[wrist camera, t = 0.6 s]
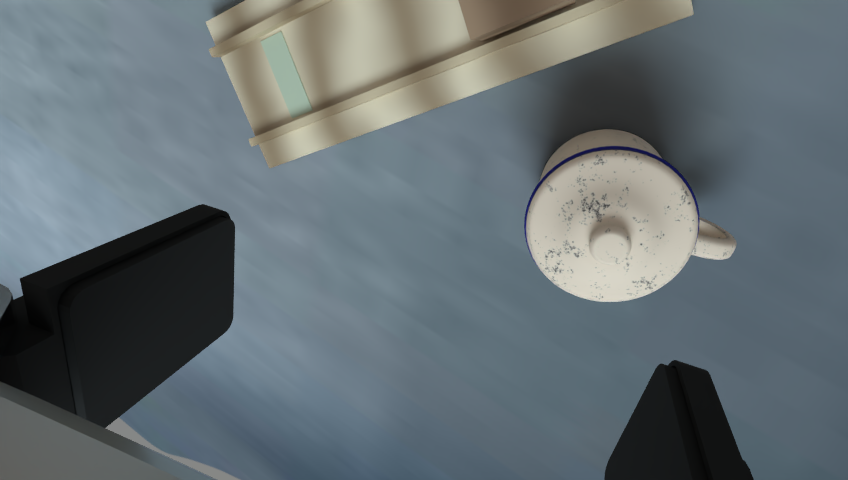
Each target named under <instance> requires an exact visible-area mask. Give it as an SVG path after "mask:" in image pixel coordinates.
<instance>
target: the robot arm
mask: <svg viewBox="0 0 848 480" xmlns="http://www.w3.org/2000/svg"><path fill="white" fill-rule="evenodd" d="M234 250H235V224H234V222H233V221H232V220H231V219H230V216H229V214H228V213H227V212H226V211H223V210H219V209H216V208H213V207H210V206H207V205H204V204H202V205H198V206H195V207H193V208H190V209H188V210H186V211H183V212H181V213H178V214H176V215H173V216H171V217H169V218H166V219H164V220H161V221H159V222H156V223H154V224H152V225H149V226H147V227H144V228H142V229H139V230H137V231H134V232H132V233H130V234H127V235H125V236H122V237H120V238H117V239H115V240H113V241H110V242H108V243H105V244H103V245H100V246H98V247H96V248H93V249H91V250H88V251H86V252H83V253H81V254H79V255H76V256H74V257H71V258H69V259H66V260H64V261H61V262H59V263H57V264H54V265H52V266H49V267H47V268H44V269H42V270H40V271H37V272H35V273H32V274H30V275H27V276H25V277H23V278H20V282H21V286H22V291H23V296H21V297H19V298H17V299H15V300H13V297H12V293H11V292H10V290H9V288H7V287H5V286H3V285H1V284H0V480H216V479H214V478H212V477H210V476H208V475H206V474H203V473H201V472H199V471H197V470H195V469H193V468H191V467H188V466H186V465H184V464H182V463H180V462H177V461H175V460H173V459H171V458H169V457H167V456H165V455H162V454H160V453H158V452H156V451H154V450H151V449H149V448H147V447H145V446H143V445H140V444H138V443H136V442H134V441H132V440H130V439H127V438H125V437H123V436H121V435H119V434H116V433H114V432H112V431H110V430H108V429H105V428H106V427H107V426H108V425H109V424H111V423H112V422H113V421H114V420H116V419H117V418H118V417H120V416H121V415H122V414H123V413H125V412H126V411H127V410H128V409H130V408H131V407H132V406H133V405H135V404H136V403H137V402H138V401H140V400H141V399H142V398H143V397H145V396H146V395H147V394H148V393H150V392H151V391H152V390H153V389H155V388H156V387H157V386H158V385H160V384H161V383H162V382H164V381H165V380H166V379H167V378H169V377H170V376H171V375H172V374H174V373H175V372H176V371H177V370H179V369H180V368H181V367H182V366H184V365H185V364H186V363H187V362H189V361H190V360H191V359H192V358H194V357H195V356H196V355H197V354H199V353H200V352H201V351H202V350H204V349H205V348H206V347H208V346H209V345H210V344H211V343H213V342H214V341H215V340H216V339H218V338H219V337H220V336H221V335H223V334H224V333H225V332H226V331H227V330H228V329H229V327H230V325H231V323H232V320H233V300H234ZM605 480H754V479H753V477H752V474H751V472H750V469H749V467H748V466H747V464H746V462H745V461H744V460H743V459H742V457H741V455H740V452H739V450H738V447H737V444H736V442H735V439H734V436H733V434H732V431H731V429H730V426H729V423H728V421H727V418H726V416H725V413H724V410H723V408H722V405H721V402H720V400H719V397H718V395H717V392H716V389H715V387H714V384H713V381H712V379H711V376H710V374H709V372H708V371H706V370H704V369H701V368H698V367H695V366H692V365H689V364H686V363H683V362H680V361H676V360H674V361H672V362H671V363H670V364H669V365H668V366H667V365H664V364H659V365H658V366H657V368H656V369H655V371H654V373H653V375H652V377H651V379H650V381H649V383H648V385H647V387H646V389H645V391H644V393H643V395H642V396H641V398H640V400H639V402H638V404H637V406H636V408H635V410H634V412H633V414H632V416H631V418H630V420H629V422H628V424H627V426H626V428H625V429H624V431H623V433H622V435H621V437H620V439H619V441H618V443H617V445H616V447H615V449H614V451H613V453H612V455H611V457H610V459H609V461H608V463H607V467H606V471H605Z"/></svg>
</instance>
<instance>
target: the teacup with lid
mask: <svg viewBox="0 0 848 480" xmlns="http://www.w3.org/2000/svg"><path fill="white" fill-rule="evenodd" d="M524 228H525V237H526V242H527V246H528V249H529V251H530V254H531V256H532V258H533V260H534V261H535V263H536V264H537V266H538V267H539V269H540V270H541V271H542V272H543V273H544V275H545V276H546V277H547V278H548V279H549V280H551V281H552V282H553V283H554V284H556V285H557V286H558V287H560V288H561V289H563V290H565V291H567V292H569V293H571V294H573V295H575V296H578V297H581V298H585V299H588V300H594V301H601V302H619V301H626V300H631V299H636V298H639V297H642V296H645V295H647V294H649V293H652V292H654V291H656V290H657V289H659V288H661V287H662V286H664V285H665V284H667V283H668V282H669V281H670V280H672V279H673V278H674V277H675V276H676V275H677V274H678V273H679V272H680V270H681V269H682V268H683V267H684V265H685V264H686V263H687V261H688V259H689V257H690V256H691V255H695V256H699V257H703V258H707V259H715V260H721V259H727V258H729V257H730V256H731V255H732V254H733V252H734V250H735V248H736V240H735V239H734V237H733V236H732V235H731V234H730V233H728V232H727V231H726V230H724V229H723V228H721V227H719V226H718V225H716V224H714V223H712V222H710V221H708V220H705V219H703V218H701V217H699V210H698V205H697V201H696V198H695V196H694V193H693V191H692V189H691V187H690V186H689V184H688V182H687V181H686V180H685V178H684V177H683V176H682V175H681V174H680V173H679V172H678V170H677V169H675V168H674V167H673V166H672V165H671V164H669V163H668V162H666V161H665V160H663V159H662V157H661V156H660V155H659V154H658V152H657V151H656V150H655V149H654V148H653V147H652V146H651V145H650V144H649V143H648V142H646V141H645V140H643V139H642V138H640V137H638V136H636V135H634V134H631V133H628V132H625V131H620V130H613V129H601V130H594V131H589V132H586V133H583V134H580V135H578V136H576V137H574V138H572V139H570V140H569V141H567V142H566V143H564V144H563V145H562V146H561V147H559V148H558V149H557V150H556V151H555V153H554V154H553V155H552V156H551V157H550V159H549V160H548V162H547V164H546V166H545V168H544V170H543V172H542V175H541V178H540V182H539V183H538V185H537V186H536V188H535V189H534V191H533V193H532V195H531V197H530V200H529V202H528V205H527V209H526V214H525V225H524Z"/></svg>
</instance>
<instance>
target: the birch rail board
mask: <svg viewBox="0 0 848 480" xmlns="http://www.w3.org/2000/svg"><path fill="white" fill-rule="evenodd" d="M575 2H576V4H573V5H571V6H568V7H566V8H563V9H561V10H558V11H556V12H553V13H551V14H548V15H546V16H544V17H541V18H539V19H536V20H534V21H531V22H529V23H526V24H524V25H521V26H519V27H516V28H514V29H511V30H509V31H507V32H504V33H502V34H499V35H497V36H494V37H492V38H489V39H487V40H484V41H478V40H470V37H469V34H468V30H467V27H466V24H465V20H464V17H463V14H462V11H461V7H460V4H459V1H458V0H245V1H243V2H241V3H239V4H238V5H236V6H234V7H232V8H230V9H229V10H227V11H225V12H223V13H221V14H220V15H218V16H216V17H214V18H212V19H210V20H209V21H207V22H206V24H207V26H208V29H209V31H210V33H211V36H212V38H213V40H214V42H215V45H216V46H214V47H212V48H210V49H209V51H210V53H211V56H212V57H221V59H222V61H223V63H224V65H225V68H226V70H227V72H228V75H229V77H230V79H231V81H232V84H233V86H234V88H235V91H236V93H237V95H238V98H239V100H240V102H241V104H242V107H243V109H244V111H245V114H246V116H247V118H248V120H249V123H250V125H251V127H252V130H253V132H254V134H255V137H253V138H251V139H248V140H249V142H250V144H251V147H252V146H255V145H259V146H260V148H261V150H262V153H263V155H264V157H265V159H266V162H267V164H268V166H269V168H272V167H275V166H277V165H280V164H283V163H286V162H288V161H291V160H294V159H297V158H299V157H302V156H305V155H308V154H311V153H313V152H316V151H319V150H322V149H324V148H327V147H330V146H333V145H335V144H338V143H341V142H344V141H346V140H349V139H352V138H355V137H357V136H360V135H363V134H366V133H368V132H371V131H374V130H377V129H379V128H382V127H385V126H388V125H391V124H393V123H396V122H399V121H402V120H404V119H407V118H410V117H413V116H415V115H418V114H421V113H424V112H426V111H429V110H432V109H435V108H437V107H440V106H443V105H446V104H448V103H451V102H454V101H457V100H459V99H462V98H465V97H468V96H471V95H473V94H476V93H479V92H482V91H484V90H487V89H490V88H493V87H495V86H498V85H501V84H504V83H506V82H509V81H512V80H515V79H517V78H520V77H523V76H526V75H528V74H531V73H534V72H537V71H539V70H542V69H545V68H548V67H551V66H553V65H556V64H559V63H562V62H564V61H567V60H570V59H573V58H575V57H578V56H581V55H584V54H586V53H589V52H592V51H595V50H597V49H600V48H603V47H606V46H608V45H611V44H614V43H617V42H619V41H622V40H625V39H628V38H630V37H633V36H636V35H639V34H642V33H644V32H647V31H650V30H653V29H655V28H658V27H661V26H664V25H666V24H669V23H672V22H675V21H677V20H680V19H683V18H686V17H688V16H691V15H694V13H693V7H692V2H691V0H575Z"/></svg>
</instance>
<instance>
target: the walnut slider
mask: <svg viewBox="0 0 848 480" xmlns="http://www.w3.org/2000/svg"><path fill="white" fill-rule="evenodd" d="M458 1H459V4H460V7H461V11H462V14H463V17H464V20H465V24H466V27H467V30H468V34H469V37H470V40H478V41H484V40H487V39H489V38H492V37H494V36H497V35H499V34H502V33H504V32H507V31H509V30H511V29H514V28H516V27H519V26H521V25H524V24H526V23H529V22H531V21H534V20H536V19H539V18H541V17H544V16H546V15H548V14H551V13H553V12H556V11H558V10H561V9H563V8H566V7H568V6H571V5H573V4H576V2H575V0H458Z"/></svg>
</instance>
